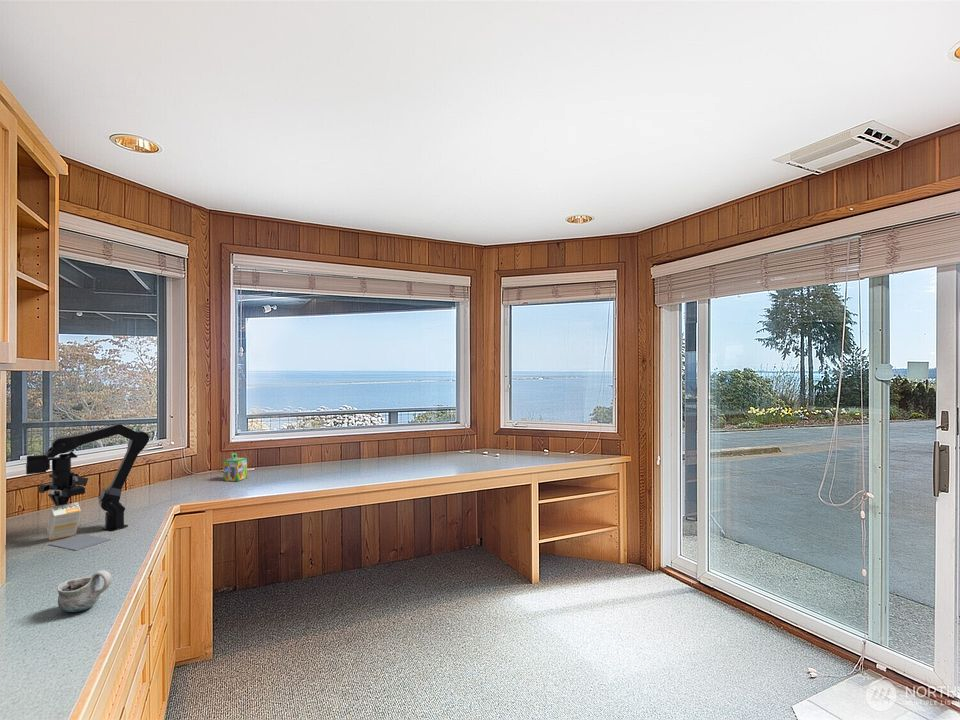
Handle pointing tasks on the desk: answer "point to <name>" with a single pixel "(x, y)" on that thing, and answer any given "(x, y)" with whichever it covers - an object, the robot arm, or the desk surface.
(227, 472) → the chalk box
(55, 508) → the supplement box
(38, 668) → the desk surface
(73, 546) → the mat
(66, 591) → the mug
